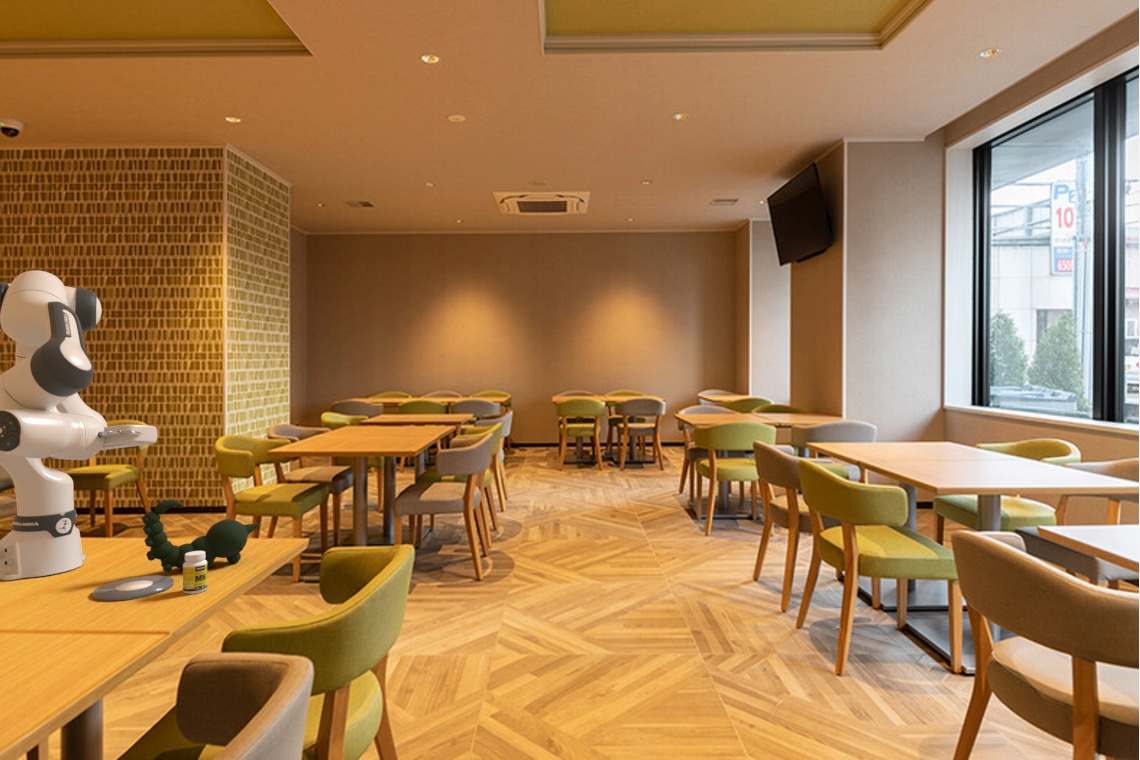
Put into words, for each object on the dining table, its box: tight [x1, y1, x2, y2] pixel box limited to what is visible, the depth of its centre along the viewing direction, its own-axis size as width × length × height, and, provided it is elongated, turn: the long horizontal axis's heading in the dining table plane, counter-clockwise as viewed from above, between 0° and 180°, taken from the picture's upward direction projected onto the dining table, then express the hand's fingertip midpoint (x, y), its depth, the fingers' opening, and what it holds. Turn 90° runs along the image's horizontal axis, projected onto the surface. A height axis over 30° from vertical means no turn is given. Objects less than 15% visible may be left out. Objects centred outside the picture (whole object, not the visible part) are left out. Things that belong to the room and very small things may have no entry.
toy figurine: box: [141, 499, 260, 573], centre depth 165 cm, size 9×19×25 cm
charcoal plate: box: [92, 575, 174, 602], centre depth 149 cm, size 15×15×1 cm
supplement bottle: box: [182, 551, 209, 595], centre depth 147 cm, size 5×5×8 cm
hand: (133, 441), depth 144 cm, fingers open, 8 cm apart
